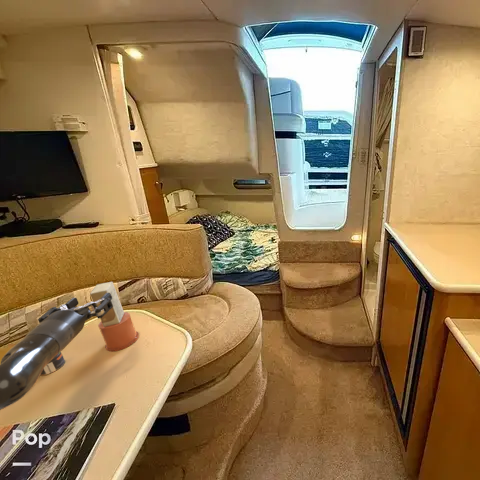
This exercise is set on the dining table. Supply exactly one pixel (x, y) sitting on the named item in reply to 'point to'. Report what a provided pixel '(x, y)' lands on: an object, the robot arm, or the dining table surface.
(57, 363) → the pill bottle
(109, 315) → the cosmetic box
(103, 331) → the upturned cup
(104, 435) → the dining table surface
